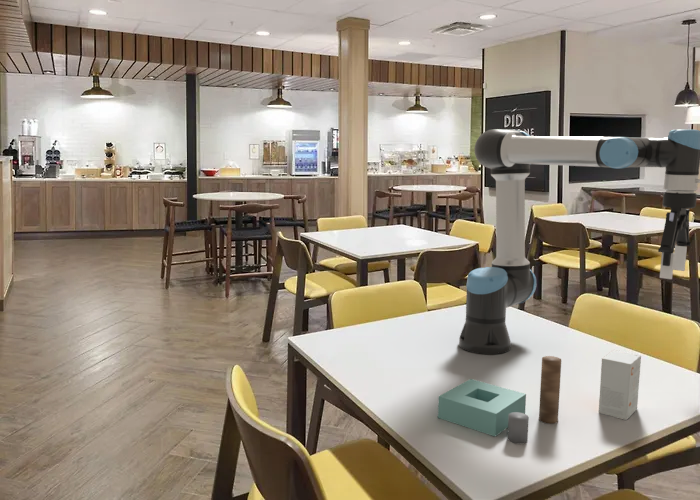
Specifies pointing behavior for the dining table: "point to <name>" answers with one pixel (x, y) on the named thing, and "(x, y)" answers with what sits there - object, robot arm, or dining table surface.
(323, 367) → the dining table surface
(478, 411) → the hole block
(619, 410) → the small box
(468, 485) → the dining table surface
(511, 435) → the charcoal dowel
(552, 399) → the walnut dowel
